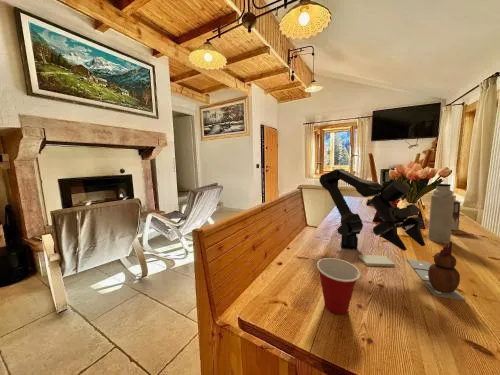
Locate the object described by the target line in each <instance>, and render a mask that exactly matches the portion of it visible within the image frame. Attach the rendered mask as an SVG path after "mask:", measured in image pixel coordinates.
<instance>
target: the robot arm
mask: <svg viewBox="0 0 500 375" xmlns="http://www.w3.org/2000/svg"><path fill="white" fill-rule="evenodd" d="M340 180H341V181H343V182H344V183H346V184H348V185H349V186H351V187H353V188H354V189H355V190H356V192H357V193H358V194H359V195H360V196H362V197H364V198H369V199H367V202H366V207H371V206H372V207H373V208H374V210H375V211H376V213H377V214H378V215H377V218H378V219H381V220H382V221H381V222H379V223H378V224H376V225H375V226H373V227H372V232H373V234H374V235H375V236H378V237H379V238H382V239H385V240H386V241H387V242H389V243H391V244H392V245H394V246H396V247H397V248H398V249H400V250H401V251H404V252H406V251H407V247H406V246H405V243H404V242H403V241H402V239H401V237H400V236H399V234H398V229H400V228H401V229H402V230H404V233H406V234H407V235H408V236H409V237H410V238H411V239H412V240H414V241H415V242H416V243H417V244H419V245H420V246H421V247H425V246H426V242H425V240H424V237H423V235H422V231H421V227H422V226H423V223H424V222H425V221H424V219H422V217H421V216H419V215H420V214H419V212H420V207H418V206H417V205H415V203H411V204H409V205H406V207H402V208H400V207H398V206H394V205H393V204H392V203H396V202H398V201H399V200H401V198H403V197H404V196H406V195H407V194H408V193H409V191H410V189H409V188H408V186H407V185H405V184H404V183H402V182H400V181H398V180H397V179H395V178H393V179H390V180H388V182H387V183H386V184H385V185H381V184H380V183H379V182H376V181H373V180H367V179H363V178H360V177H359V176H357V175H355V174H354V173H351V172H348V171H347V170H345V169H343V168H335V169H333V170H332V171H329V172H327V173H323V174H321V175H320V177H319V183H320V185H321V187H323V189H325V190H326V191H327V192H328V193H329V195H330V197H331V199H332V201H333V202H334V205H335V207H336V209H337V211H338V213H339V215H340V226H339V227H337V233H338V234H339V235H341V237H340V246H341V247H340V248H342V249H349V250H350V249H351V250H357V249H358V245H359V244H358V243H359V238H358V235H359V234H361V231H362V229H363V227H364V224H363V220H362V218H361V217H360V214H359V213H353V212H352V210H351V208H350V207H349V205H348V203H347V201H346V199H345V198H344V195H343V194H342V192H341V190H340V188H339V181H340ZM370 197H371V198H370Z"/></svg>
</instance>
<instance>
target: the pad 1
mask: <svg viewBox="0 0 500 375" xmlns="http://www.w3.org/2000/svg"><path fill="white" fill-rule="evenodd" d="M406 262H407V263H408V264H409V265H410V267H411V268H412V269H413V270H414V269H417V270H425V271H428V270H429V267H430V266H431V265H432V263H430V261H424V260H416V259H415V260H414V259H406Z"/></svg>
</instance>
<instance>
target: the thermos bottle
mask: <svg viewBox="0 0 500 375" xmlns="http://www.w3.org/2000/svg"><path fill="white" fill-rule="evenodd" d="M451 186H452V185H451V184H450V183H437V184H436V188H435V189H434V190H433V194H431V196H430V207H429V211H430V212H429V221H428V222H429V223H428V237H427V238H428V240H429V241H432V242H437V243H443V244H446V243H448V244H450V241H451V237H452V236H451V235H452V230H451V226H452V215H453V204H454V201H455V196H454V195H453V191H452V190H451Z"/></svg>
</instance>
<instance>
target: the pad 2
mask: <svg viewBox="0 0 500 375" xmlns="http://www.w3.org/2000/svg"><path fill="white" fill-rule="evenodd" d="M413 270H414V271H415V274H417V276H418V277H419V278H420V280H421V281H422V282H424V281H426V282H430V281H429V277H428V271H425V270H417V269H413Z"/></svg>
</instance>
